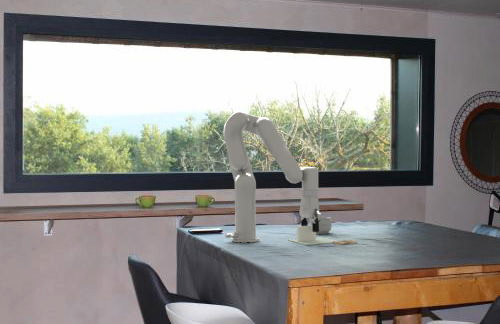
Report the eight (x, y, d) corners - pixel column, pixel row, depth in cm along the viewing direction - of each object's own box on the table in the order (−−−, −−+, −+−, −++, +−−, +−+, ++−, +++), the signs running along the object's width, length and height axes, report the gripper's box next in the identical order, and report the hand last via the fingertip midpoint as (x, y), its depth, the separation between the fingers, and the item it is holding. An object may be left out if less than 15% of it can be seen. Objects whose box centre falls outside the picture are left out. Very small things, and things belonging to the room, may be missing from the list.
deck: (299, 241, 307) (299, 226, 307) (296, 240, 309) (296, 226, 309) (315, 239, 311) (315, 225, 311) (313, 239, 313) (313, 225, 313)
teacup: (324, 235, 328) (324, 219, 328) (305, 233, 335) (305, 217, 335) (338, 232, 339) (338, 216, 339) (320, 230, 346) (320, 215, 346)
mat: (306, 245, 298) (306, 244, 298) (287, 240, 312) (287, 239, 312) (340, 242, 306) (339, 241, 306) (320, 237, 320) (320, 237, 320)
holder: (338, 244, 298) (338, 242, 298) (332, 243, 302) (332, 241, 302) (357, 243, 302) (357, 241, 302) (351, 242, 306) (351, 239, 306)
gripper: (293, 192, 317) (293, 228, 317) (313, 195, 301) (313, 233, 302) (307, 192, 320) (307, 228, 321) (327, 194, 305) (327, 232, 305)
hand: (309, 230), depth 311 cm, fingers open, 9 cm apart
